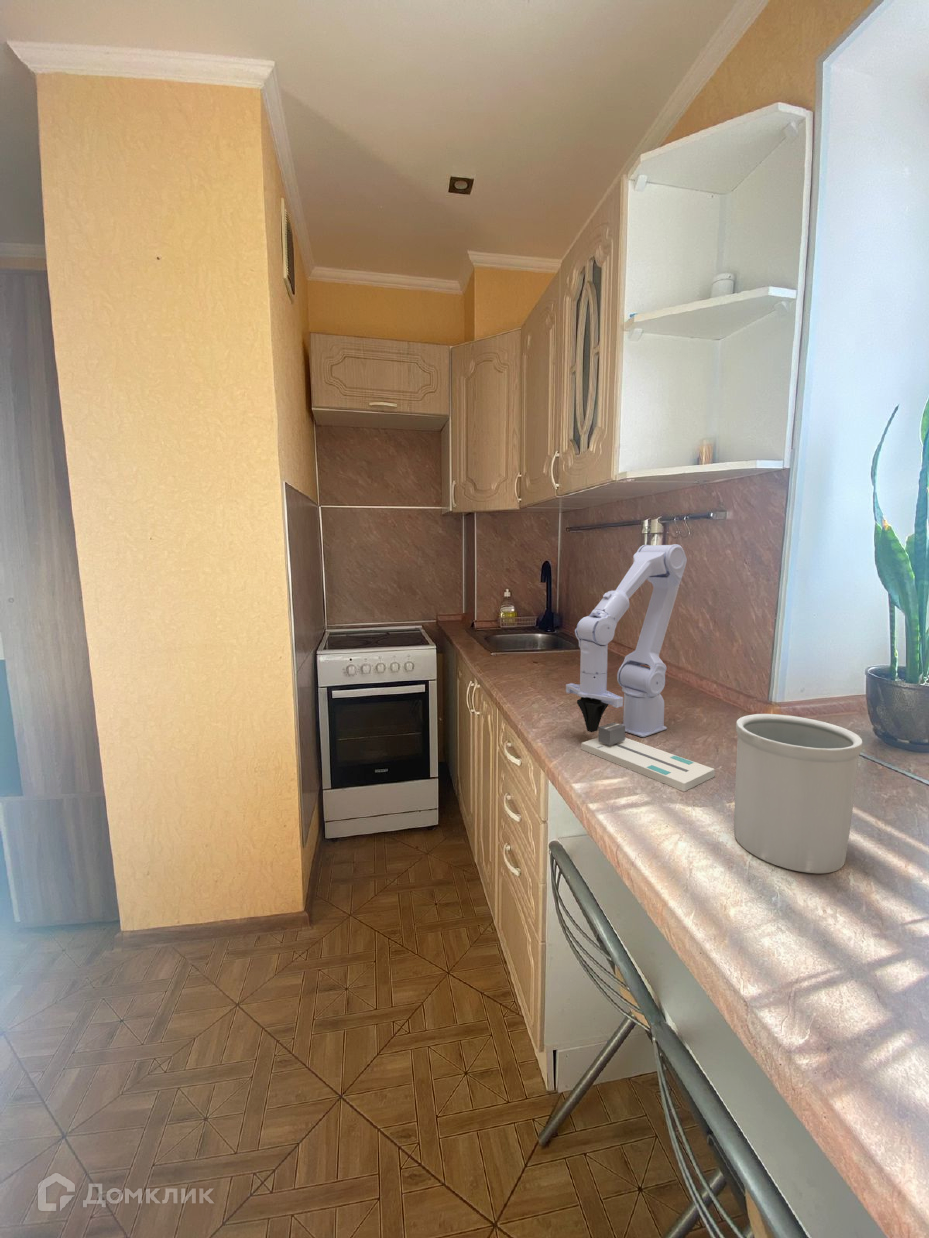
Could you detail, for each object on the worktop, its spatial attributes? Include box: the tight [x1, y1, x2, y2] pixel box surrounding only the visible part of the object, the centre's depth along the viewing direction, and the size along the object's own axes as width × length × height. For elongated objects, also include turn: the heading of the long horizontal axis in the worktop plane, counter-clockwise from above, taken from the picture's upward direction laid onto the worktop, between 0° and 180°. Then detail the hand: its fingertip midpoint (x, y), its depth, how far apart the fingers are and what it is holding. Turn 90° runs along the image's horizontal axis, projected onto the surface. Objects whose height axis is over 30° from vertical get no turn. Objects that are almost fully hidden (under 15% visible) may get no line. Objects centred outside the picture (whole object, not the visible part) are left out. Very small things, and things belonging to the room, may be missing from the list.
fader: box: [597, 721, 626, 746], centre depth 109 cm, size 5×3×3 cm, turn 125°
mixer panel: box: [580, 736, 716, 792], centre depth 103 cm, size 10×24×2 cm, turn 35°
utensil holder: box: [733, 713, 863, 874], centre depth 73 cm, size 15×15×18 cm
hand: (592, 730), depth 113 cm, fingers closed
